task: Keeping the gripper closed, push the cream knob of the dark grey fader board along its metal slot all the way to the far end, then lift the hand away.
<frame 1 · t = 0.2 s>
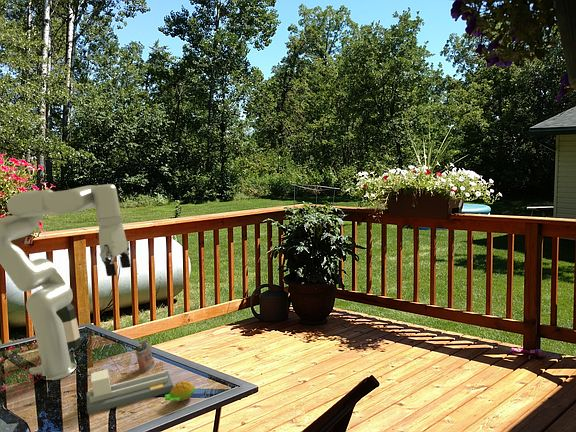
hand: (119, 271, 185), 37 cm above the table, tool pointing down, fingers open, 9 cm apart
wine bottle: (71, 348, 223), on the table
fader board: (130, 394, 175), on the table
toy pineapple: (181, 401, 167), on the table
lighter: (146, 368, 194), on the table
fader knob: (101, 385, 172), point 6 cm above the table, slide at 0.0 cm
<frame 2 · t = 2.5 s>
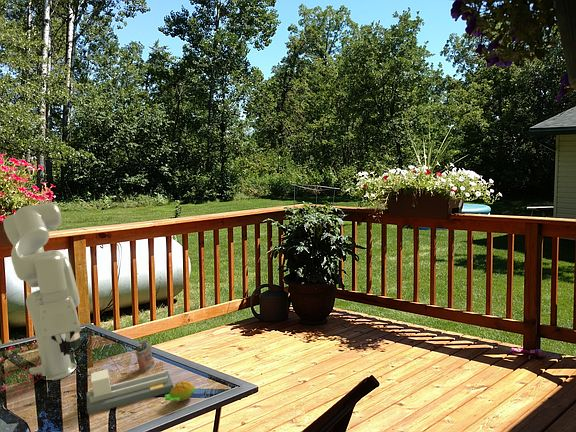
hand: (66, 353, 167), 18 cm above the table, tool pointing down, fingers closed
nothing on the table moved.
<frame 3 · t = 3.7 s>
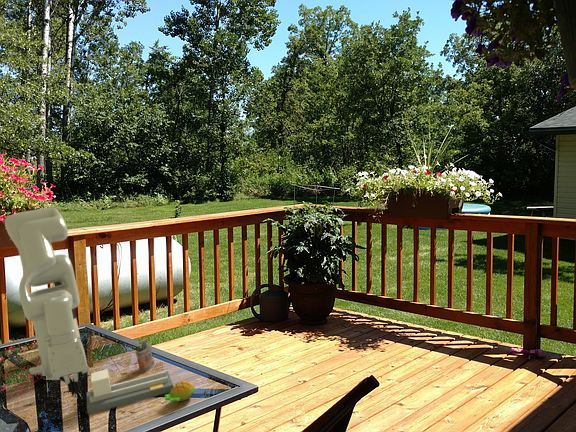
hand: (74, 393, 169), 5 cm above the table, tool pointing down, fingers closed
nothing on the table moved.
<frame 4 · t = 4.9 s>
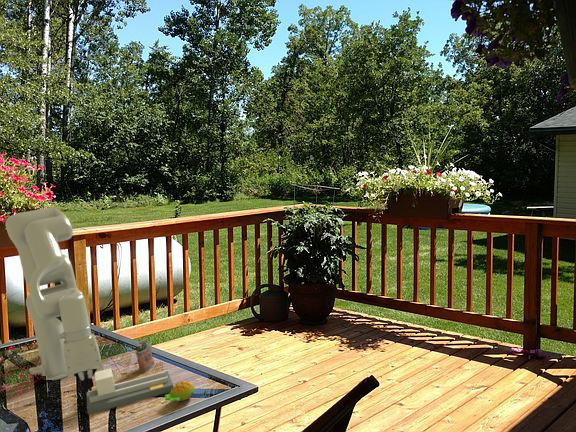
hand: (89, 389, 171), 5 cm above the table, tool pointing down, fingers closed
fader knob: (105, 384, 172), point 6 cm above the table, slide at 1.2 cm, touching gripper
everything else where it was.
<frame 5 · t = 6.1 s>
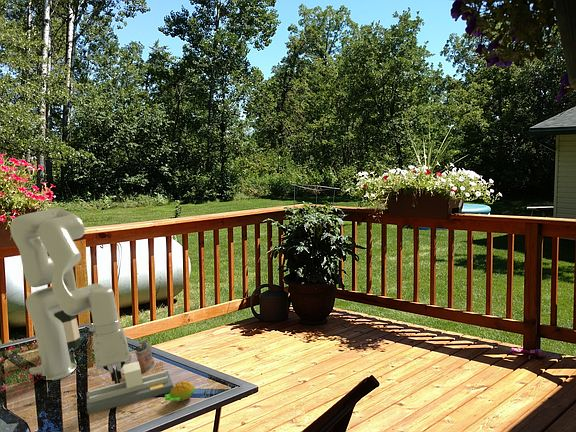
hand: (117, 382, 173), 5 cm above the table, tool pointing down, fingers closed
fader knob: (133, 376, 175), point 6 cm above the table, slide at 9.8 cm, touching gripper
everything else where it was.
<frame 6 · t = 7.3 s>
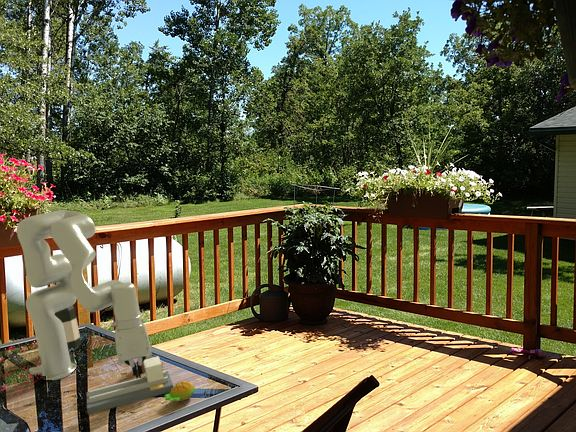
hand: (138, 376, 175), 5 cm above the table, tool pointing down, fingers closed
fader knob: (153, 371, 177), point 6 cm above the table, slide at 16.2 cm, touching gripper
everything else where it was.
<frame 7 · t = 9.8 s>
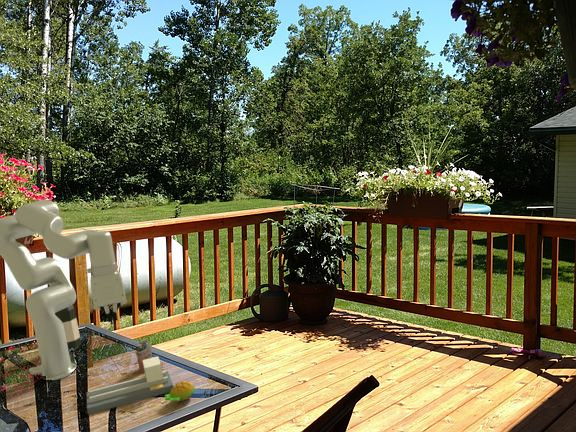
hand: (113, 323, 180), 21 cm above the table, tool pointing down, fingers closed
fader knob: (153, 371, 177), point 6 cm above the table, slide at 16.0 cm
everything else where it was.
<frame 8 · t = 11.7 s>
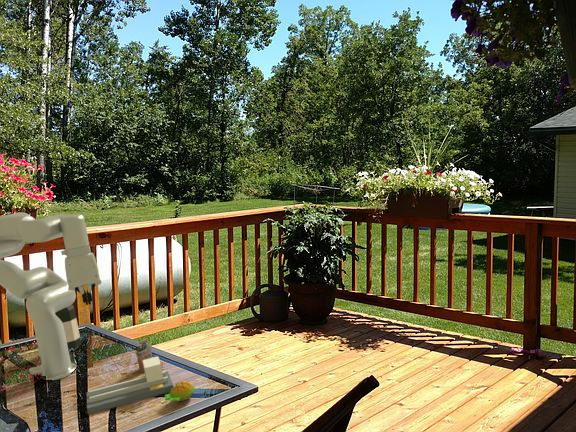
hand: (88, 303, 186), 27 cm above the table, tool pointing down, fingers closed
nothing on the table moved.
at the end: fader knob slide at 16.0 cm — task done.
